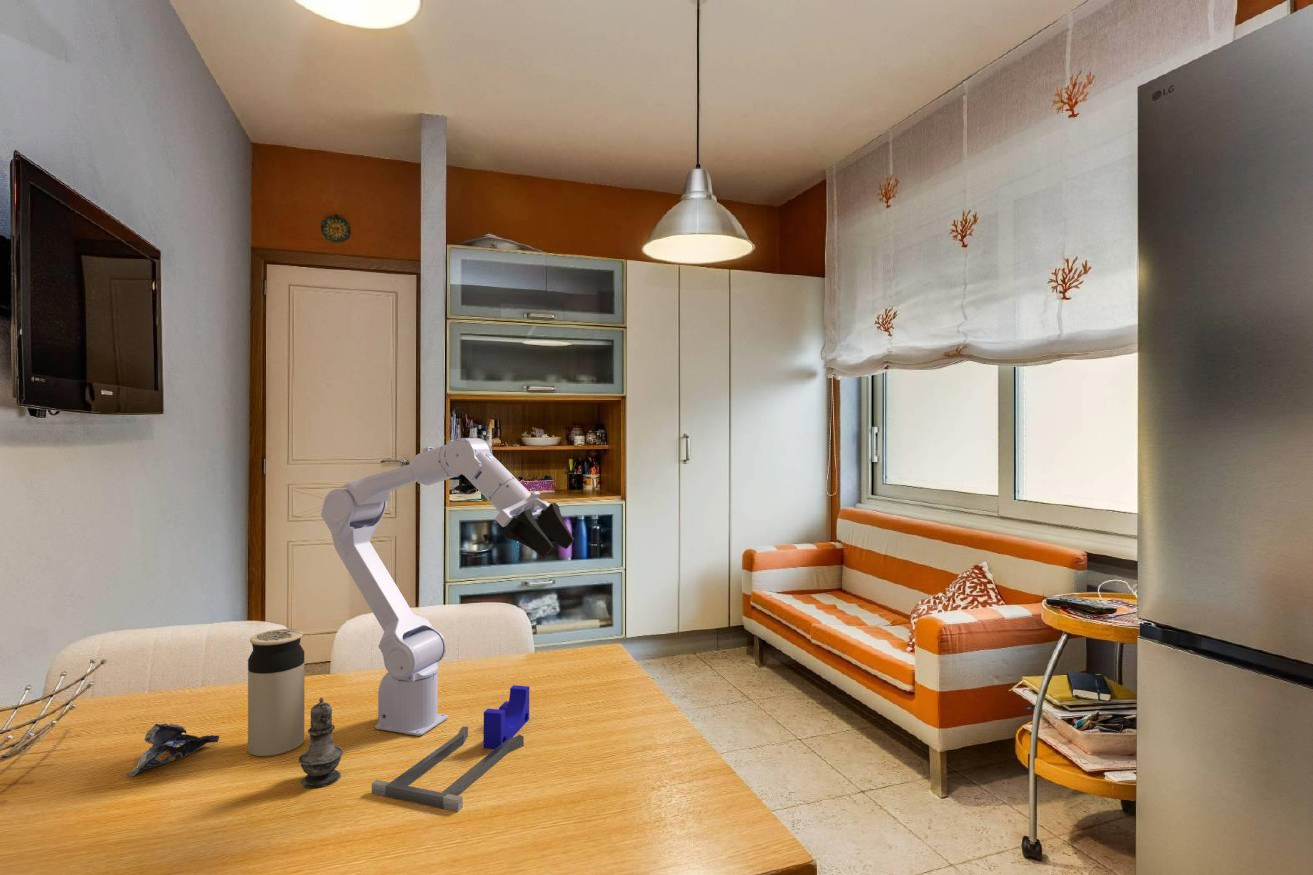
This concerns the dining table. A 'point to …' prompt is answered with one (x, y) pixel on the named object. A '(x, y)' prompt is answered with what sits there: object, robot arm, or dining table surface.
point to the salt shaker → (321, 750)
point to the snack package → (169, 746)
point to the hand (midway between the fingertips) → (559, 548)
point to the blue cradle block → (506, 718)
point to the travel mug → (275, 692)
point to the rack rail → (451, 794)
